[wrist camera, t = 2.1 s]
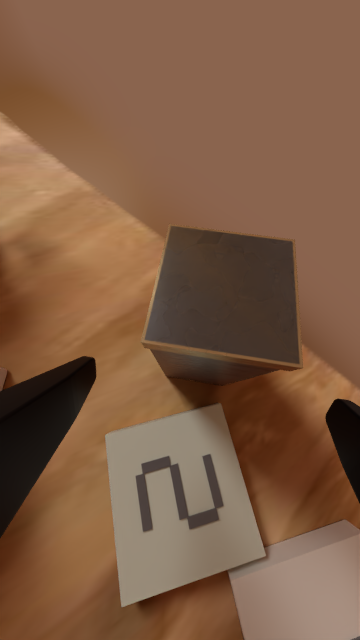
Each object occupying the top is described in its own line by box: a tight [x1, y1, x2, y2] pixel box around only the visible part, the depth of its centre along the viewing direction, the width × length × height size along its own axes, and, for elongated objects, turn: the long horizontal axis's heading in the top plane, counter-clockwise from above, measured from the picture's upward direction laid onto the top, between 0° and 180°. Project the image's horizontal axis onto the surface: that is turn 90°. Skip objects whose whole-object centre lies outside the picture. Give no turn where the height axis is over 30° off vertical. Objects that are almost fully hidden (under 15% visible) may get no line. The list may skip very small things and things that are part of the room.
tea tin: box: [141, 224, 303, 386], centre depth 13 cm, size 5×5×12 cm
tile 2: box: [105, 403, 266, 607], centre depth 14 cm, size 9×9×2 cm
